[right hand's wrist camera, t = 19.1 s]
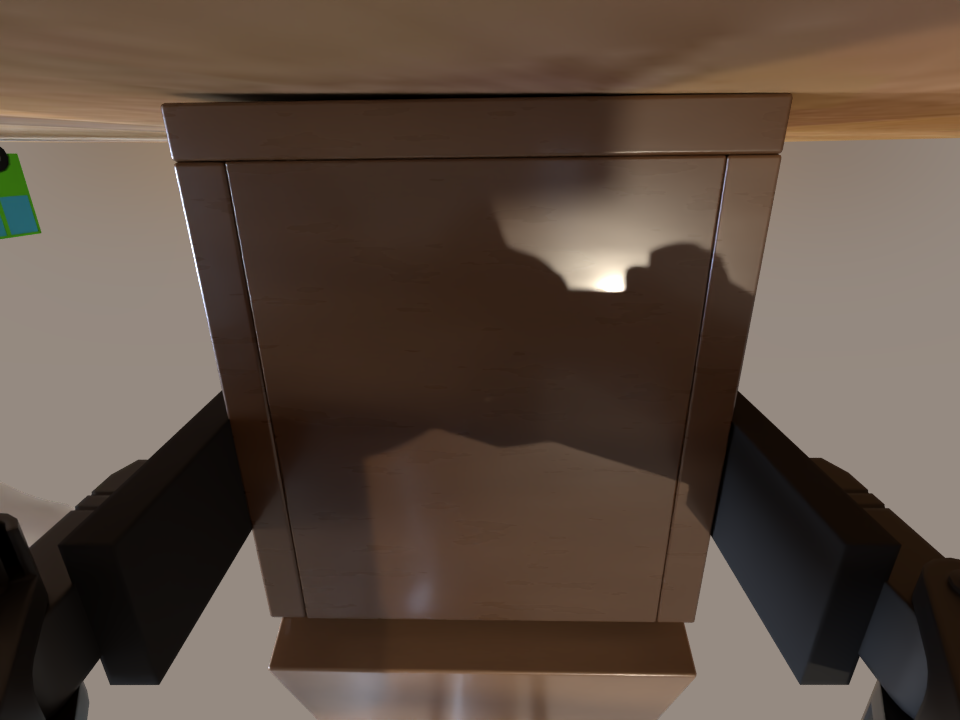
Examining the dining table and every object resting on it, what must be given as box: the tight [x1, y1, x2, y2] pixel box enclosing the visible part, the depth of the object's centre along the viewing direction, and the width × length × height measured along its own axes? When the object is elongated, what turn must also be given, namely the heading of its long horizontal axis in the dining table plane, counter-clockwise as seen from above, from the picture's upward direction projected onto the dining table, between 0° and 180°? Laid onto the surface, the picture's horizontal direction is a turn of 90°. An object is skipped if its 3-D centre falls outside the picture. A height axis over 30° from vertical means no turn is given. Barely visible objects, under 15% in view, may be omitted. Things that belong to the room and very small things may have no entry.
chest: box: [161, 93, 792, 623], centre depth 18 cm, size 17×10×11 cm, turn 1°
